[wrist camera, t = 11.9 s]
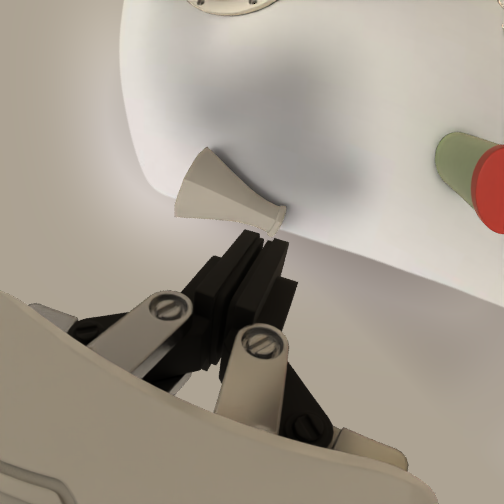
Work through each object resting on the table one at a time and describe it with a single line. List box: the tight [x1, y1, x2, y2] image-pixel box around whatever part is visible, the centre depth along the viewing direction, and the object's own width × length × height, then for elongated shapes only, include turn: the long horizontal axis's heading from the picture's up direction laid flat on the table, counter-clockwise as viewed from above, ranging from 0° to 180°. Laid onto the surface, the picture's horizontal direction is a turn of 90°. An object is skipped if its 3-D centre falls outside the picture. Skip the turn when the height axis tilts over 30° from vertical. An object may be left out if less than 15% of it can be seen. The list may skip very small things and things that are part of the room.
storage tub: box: [435, 132, 504, 234], centre depth 17 cm, size 6×6×10 cm
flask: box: [175, 147, 286, 237], centre depth 28 cm, size 7×7×10 cm
